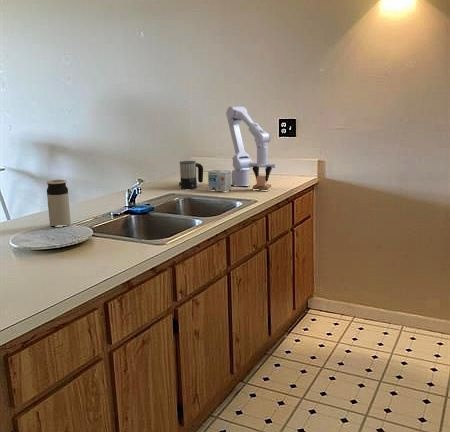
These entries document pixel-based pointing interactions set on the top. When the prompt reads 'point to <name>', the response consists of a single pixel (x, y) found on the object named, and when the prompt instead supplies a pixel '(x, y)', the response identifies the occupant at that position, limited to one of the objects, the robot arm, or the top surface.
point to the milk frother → (190, 174)
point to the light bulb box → (219, 180)
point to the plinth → (262, 187)
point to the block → (261, 180)
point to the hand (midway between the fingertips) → (262, 180)
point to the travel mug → (58, 203)
